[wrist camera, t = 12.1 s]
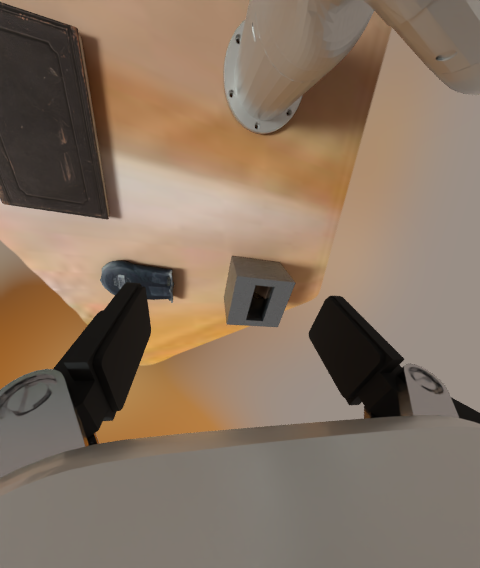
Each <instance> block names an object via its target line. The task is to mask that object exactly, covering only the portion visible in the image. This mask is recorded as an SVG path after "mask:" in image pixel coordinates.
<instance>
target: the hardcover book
mask: <svg viewBox="0 0 480 568" xmlns="http://www.w3.org/2000/svg"><path fill="white" fill-rule="evenodd" d="M0 199H1V201H2V203H3V204H6V205H13V206H20V207H27V208H34V209H41V210H47V211H54V212H61V213H68V214H75V215H81V216H88V217H95V218H102V219H109V218H108V216H110V215H109V208H108V202H107V196H106V190H105V183H104V177H103V171H102V164H101V158H100V152H99V146H98V139H97V133H96V127H95V120H94V114H93V108H92V102H91V95H90V89H89V83H88V76H87V70H86V64H85V58H84V51H83V45H82V39H81V37H80V35H79V34H78V29H77V28H76V27H74V26H71V25H68V24H65V23H62V22H59V21H56V20H53V19H50V18H46V17H43V16H40V15H37V14H34V13H31V12H28V11H25V10H22V9H19V8H16V7H13V6H10V5H7V4H4V3H1V2H0Z"/></svg>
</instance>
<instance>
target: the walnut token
mask: <svg viewBox="0 0 480 568" xmlns="http://www.w3.org/2000/svg"><path fill="white" fill-rule="evenodd" d="M271 290H272V287H269V286H259V285H255V289H254V292H256V293H257V294H259V295H261V296H262V297H264V298H265V299H266V298H267V297H269V296H270V293H271Z"/></svg>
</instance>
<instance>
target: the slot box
mask: <svg viewBox="0 0 480 568" xmlns="http://www.w3.org/2000/svg"><path fill="white" fill-rule="evenodd" d="M255 285H259V286H269V287H272V290H271V293H270V296H269V297H267V298H266V299H265V298H255V297H252V296H253V293H254V289H255ZM294 285H295V282H294V280H293V279H292V278H291V276H290V275H289V274H288V273H287V271H286V270H285V269H284V267H283V266H282V265H281V264H280V262H274V261H266V260H259V259H252V258H244V257H237V256H232V257H231V263H230V268H229V273H228V279H227V284H226V290H225V295H224V303H225V313H226V323H227V324H230V325H248V326H267V327H278V325H279V323H280V320H281V318H282V315H283V313H284V310H285V308H286V305H287V303H288V300H289V298H290V295H291V293H292V290H293V288H294Z"/></svg>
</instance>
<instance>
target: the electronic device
mask: <svg viewBox="0 0 480 568" xmlns="http://www.w3.org/2000/svg"><path fill="white" fill-rule="evenodd" d="M100 281H101V283H102V285H103V286H104V288H105V289H107V290H108V291H109V292H110V293H112V294H114V295H116V294H117V293H118V291H119V290H120V289H121V287H122V286H123V285H124V284H125V283H126V282H129V283H140V284H141V286H142V287H145V288H146V294H147V299H151V300H155V299H169V301H171V303H173V293H172V291H173V287H174V282H173V279H172V270H170V269H163V268H157V267H150V266H144V265H136V264H132V263H129V262H125V261H112V262H109V263H107V264H106V265H105V266H104V267H103V268H102V276H101V279H100Z"/></svg>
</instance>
